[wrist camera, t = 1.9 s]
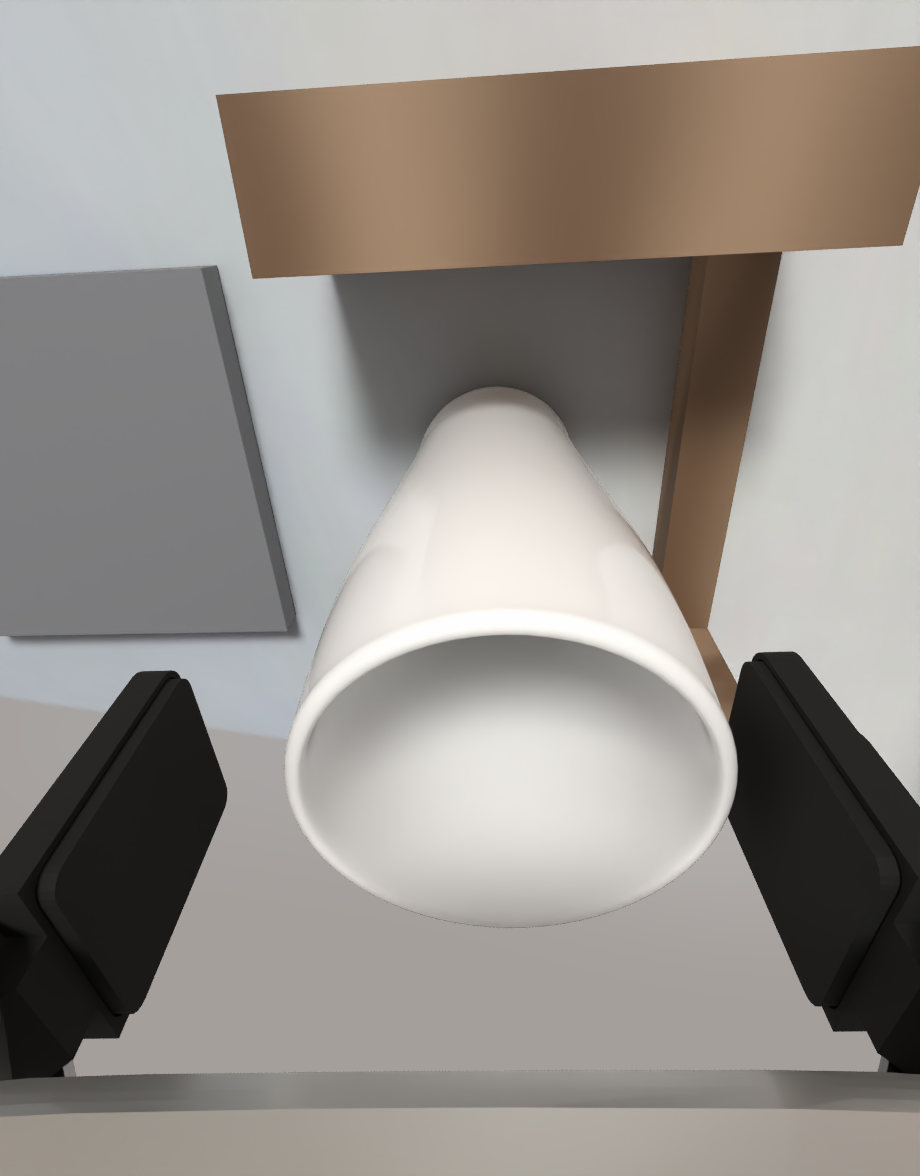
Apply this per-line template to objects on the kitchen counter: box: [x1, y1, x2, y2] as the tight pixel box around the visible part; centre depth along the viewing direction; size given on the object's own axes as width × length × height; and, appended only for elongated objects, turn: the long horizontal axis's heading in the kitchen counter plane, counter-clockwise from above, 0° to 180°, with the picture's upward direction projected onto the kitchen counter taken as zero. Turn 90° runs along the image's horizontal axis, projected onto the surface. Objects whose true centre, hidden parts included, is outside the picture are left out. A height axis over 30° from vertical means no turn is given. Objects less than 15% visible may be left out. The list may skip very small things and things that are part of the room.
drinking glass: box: [284, 387, 738, 928], centre depth 15 cm, size 7×7×15 cm
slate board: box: [0, 266, 296, 636], centre depth 22 cm, size 13×13×1 cm
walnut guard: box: [216, 46, 920, 722], centre depth 19 cm, size 13×19×7 cm
